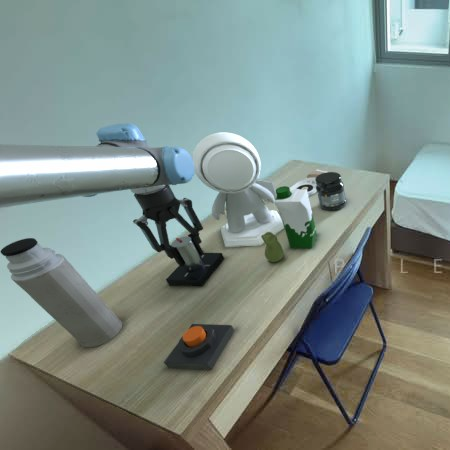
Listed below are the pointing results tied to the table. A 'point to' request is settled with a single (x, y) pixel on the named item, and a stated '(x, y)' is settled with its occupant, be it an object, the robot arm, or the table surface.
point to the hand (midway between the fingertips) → (190, 258)
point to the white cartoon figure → (236, 188)
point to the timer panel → (196, 272)
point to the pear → (272, 247)
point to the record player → (308, 182)
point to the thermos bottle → (61, 292)
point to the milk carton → (296, 216)
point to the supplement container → (330, 191)
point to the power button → (194, 336)
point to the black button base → (201, 349)
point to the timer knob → (188, 253)
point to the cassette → (267, 186)
